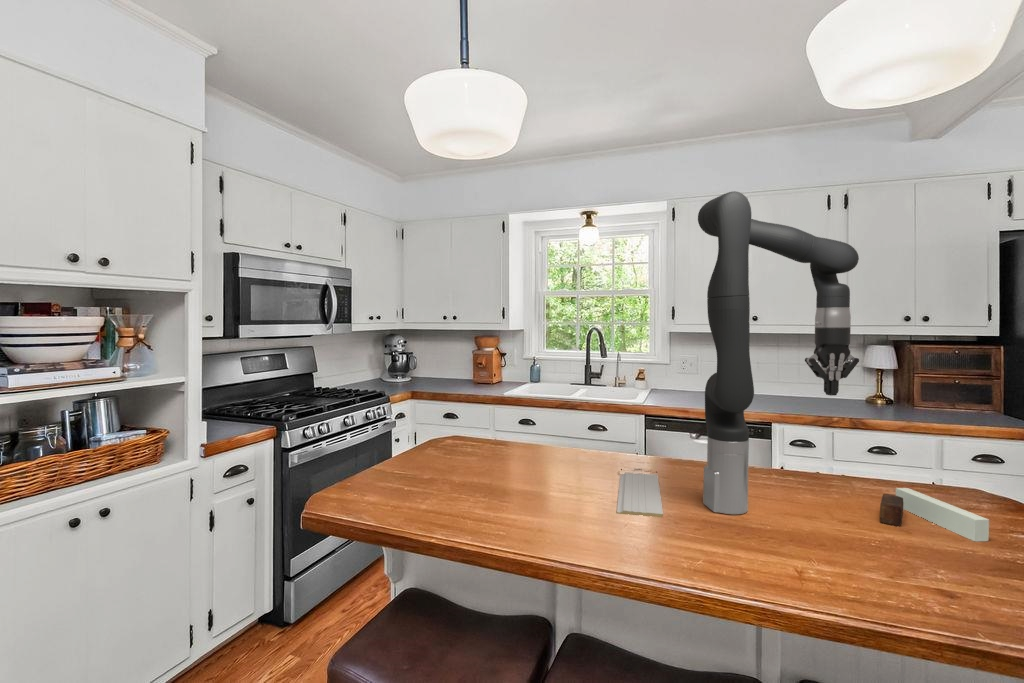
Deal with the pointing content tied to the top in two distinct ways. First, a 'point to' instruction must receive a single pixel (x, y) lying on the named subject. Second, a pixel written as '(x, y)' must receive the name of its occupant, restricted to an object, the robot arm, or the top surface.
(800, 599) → the top surface
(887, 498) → the brick
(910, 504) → the board
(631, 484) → the baseboard molding
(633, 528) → the top surface
